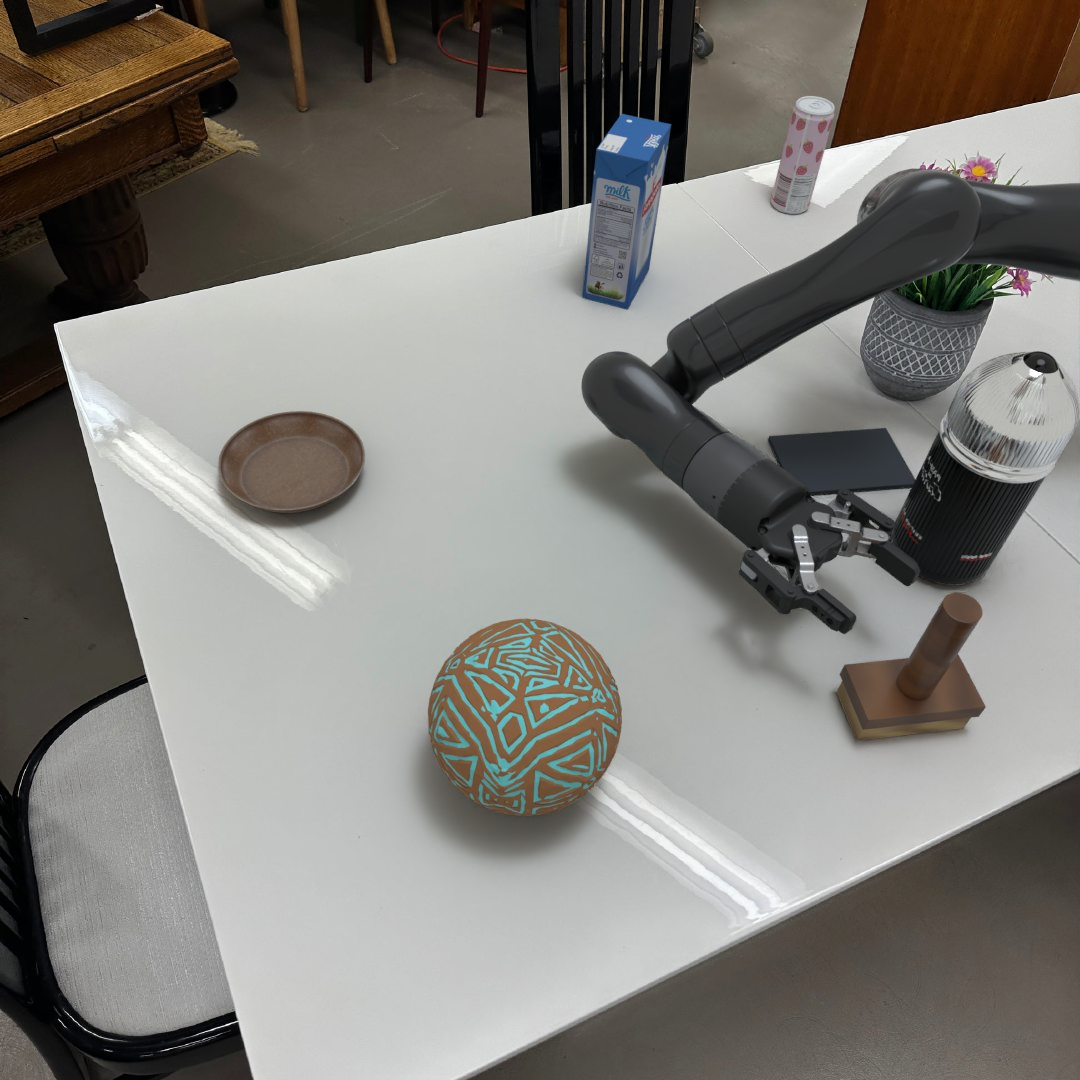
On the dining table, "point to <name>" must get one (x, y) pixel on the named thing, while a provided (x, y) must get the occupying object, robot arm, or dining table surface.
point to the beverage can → (802, 154)
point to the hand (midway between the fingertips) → (884, 601)
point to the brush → (917, 681)
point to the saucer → (291, 461)
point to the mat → (843, 460)
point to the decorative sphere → (524, 717)
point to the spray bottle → (986, 464)
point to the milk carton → (624, 209)
